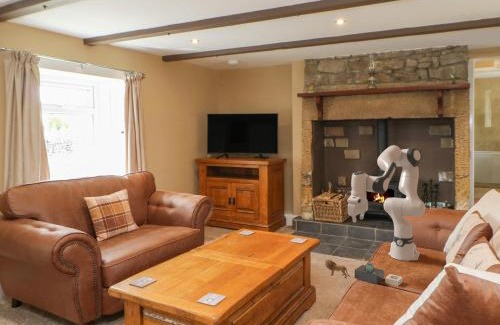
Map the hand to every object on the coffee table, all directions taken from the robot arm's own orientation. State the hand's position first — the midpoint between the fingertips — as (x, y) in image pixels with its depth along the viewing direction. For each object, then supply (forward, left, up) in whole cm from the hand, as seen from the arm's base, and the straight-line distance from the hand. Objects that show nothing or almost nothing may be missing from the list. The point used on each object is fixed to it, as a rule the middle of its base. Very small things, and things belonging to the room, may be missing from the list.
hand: (358, 220), depth 237 cm
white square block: (+9, +26, -29) cm, 40 cm away
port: (+12, +13, -29) cm, 34 cm away
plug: (+12, +13, -29) cm, 34 cm away
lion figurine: (+20, -3, -29) cm, 36 cm away
